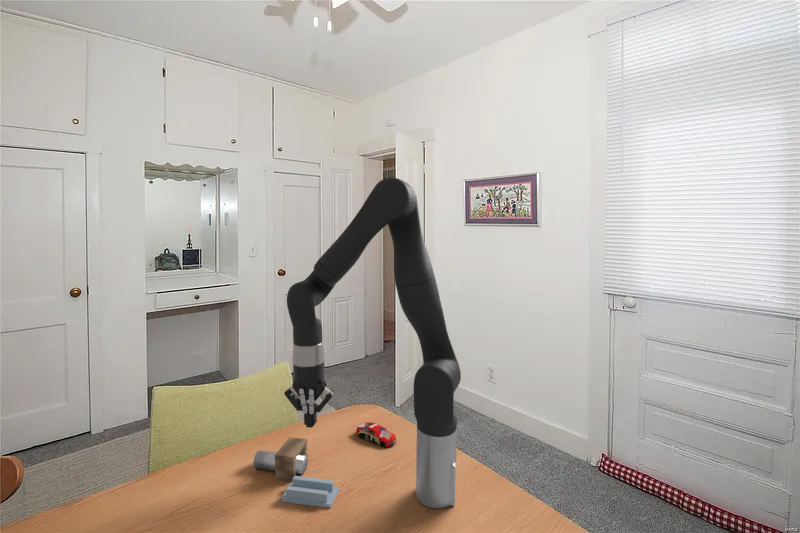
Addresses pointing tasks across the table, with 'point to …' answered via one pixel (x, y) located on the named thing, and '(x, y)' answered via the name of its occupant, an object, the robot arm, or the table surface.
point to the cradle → (311, 492)
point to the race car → (376, 434)
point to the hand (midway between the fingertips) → (310, 425)
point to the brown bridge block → (289, 458)
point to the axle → (268, 461)
